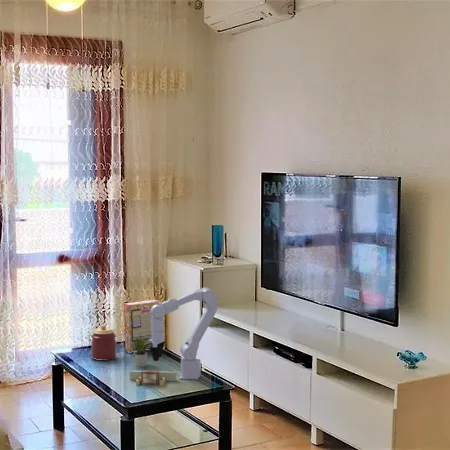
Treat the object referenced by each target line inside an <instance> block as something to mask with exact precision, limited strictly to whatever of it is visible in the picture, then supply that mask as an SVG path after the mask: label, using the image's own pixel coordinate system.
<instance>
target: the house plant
mask: <svg viewBox="0 0 450 450" xmlns="http://www.w3.org/2000/svg"><path fill="white" fill-rule="evenodd" d="M146 336H147V335H144V336H143V338H142V340H141V334H140V337H139V340H138V338H137V337H136V336H135V337H136V340H137V342H135V341H133V340H132V339H130V340H132V342H133V343H134V344H132V345H134V346H135V347H136V349H137V350H138V351H137V350H136V349H135V348H134V350H136V351H137V352H135V353H133V358H134V359H133V360H134V364H135V367H138V368H139V367H146V365H147V359H148V352H147V351H145V349H150V348H149V347H150V346H148V345H150V344H153V343H148V344H147V343H146V342H147V341H148V340H149V339H150V338H149V339H148V340H147V341H145V342H144V340H145V337H146ZM130 338H131V337H130ZM151 338H152V337H151ZM135 343H136V344H137V345H136V344H135ZM144 343H145V344H146V345H145V344H144ZM147 346H148V348H146V347H147ZM131 348H133V347H130V349H131ZM131 350H132V349H131Z"/></svg>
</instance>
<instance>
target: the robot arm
mask: <svg viewBox="0 0 450 450" xmlns="http://www.w3.org/2000/svg"><path fill="white" fill-rule="evenodd" d="M193 301H198V302H199V301H200V302H203V305H204V307H205V310H204V312H203V313H202V315H201V317H200V318H199V320H198V322H197V324H196V326H195V328H194V330H193V331H192V333H191V335H190V336H189V338H188V339H186V341H185V343H183V344H182V345H181V346H180V348H179V349H180V353H181V355H182V356H181V357H180V376H179V377H178V378H179V380H199V379H200V378H201V376H202V374H201V373H202V369H201V368H202V367H201V366H202V365H201V363H202V362H201V359H200V358H197V355H198V349H199V346H200V342H201V341H202V339H203V337H204V335H205V334H206V332H207V329H208V328H209V326H210V324H211V322H212V321H213V318H214V317H215V315H216V314H217V312H218V296H217V294H216V292H215V290H213V289H211V288H210V287H207V286H206V287H205V286H204V287H202V288H199V289H196V290H194V291H192V292H190V293H187V294H185V295H183V296H180V297H179V298H171V297H169V298H168V300H165V301H164V302H162V301H161V302H160V303H159V305H154V306H152V308H151V310H150V312H151V314H152V321H151V335H152V339H149V341H151V342H152V343H153V346H150V350H149V351H150V352H151V355H152V360H153V361H154V362H158V361H159V359H160V358H162V355H163V349H164V347H165V344H166V341H165V338H164V336H165V335H164V334H165V333H164V330H165V329H164V323H165V322H164V316H165V315H167V314H171V313H172V312H175V311H177V310H179V308H180V306H182V305H185V304H188V303H191V302H193ZM200 375H201V376H200ZM199 377H200V378H199ZM198 378H199V379H198Z"/></svg>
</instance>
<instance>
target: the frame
mask: <svg viewBox="0 0 450 450" xmlns="http://www.w3.org/2000/svg"><path fill="white" fill-rule="evenodd" d="M140 371H141V383H140V385H147V386H160V381H159V371H160V370H152V369H150V370H148V369H142V370H140Z"/></svg>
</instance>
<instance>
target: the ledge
mask: <svg viewBox="0 0 450 450" xmlns="http://www.w3.org/2000/svg"><path fill="white" fill-rule="evenodd" d="M141 371H142V370H129V380H130V381H133V380H134V381H135V385H136V386H140V385H141ZM158 371H159V386H164V385H165V383H166V381H167V382H176V381H177V371H161V370H158Z"/></svg>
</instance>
